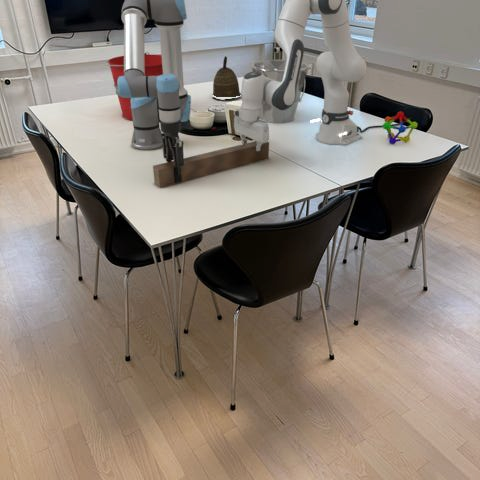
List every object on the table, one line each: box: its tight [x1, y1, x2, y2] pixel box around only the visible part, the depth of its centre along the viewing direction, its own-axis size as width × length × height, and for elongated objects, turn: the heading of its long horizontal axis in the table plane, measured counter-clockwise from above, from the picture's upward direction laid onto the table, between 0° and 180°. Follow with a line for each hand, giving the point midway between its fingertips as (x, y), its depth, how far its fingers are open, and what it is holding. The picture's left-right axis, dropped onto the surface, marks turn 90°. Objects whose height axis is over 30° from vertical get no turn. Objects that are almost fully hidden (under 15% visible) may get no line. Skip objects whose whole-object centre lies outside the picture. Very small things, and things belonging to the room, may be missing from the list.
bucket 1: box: [104, 51, 163, 121], centre depth 240 cm, size 35×35×30 cm
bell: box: [212, 56, 241, 97], centre depth 278 cm, size 19×26×20 cm
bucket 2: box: [251, 59, 309, 124], centre depth 236 cm, size 30×30×28 cm
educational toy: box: [382, 110, 418, 145], centre depth 207 cm, size 16×13×15 cm
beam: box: [152, 140, 270, 189], centre depth 180 cm, size 52×5×7 cm, turn 125°
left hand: (175, 179), depth 172 cm, fingers closed on beam, 5 cm apart
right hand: (250, 147), depth 187 cm, fingers open, 8 cm apart
